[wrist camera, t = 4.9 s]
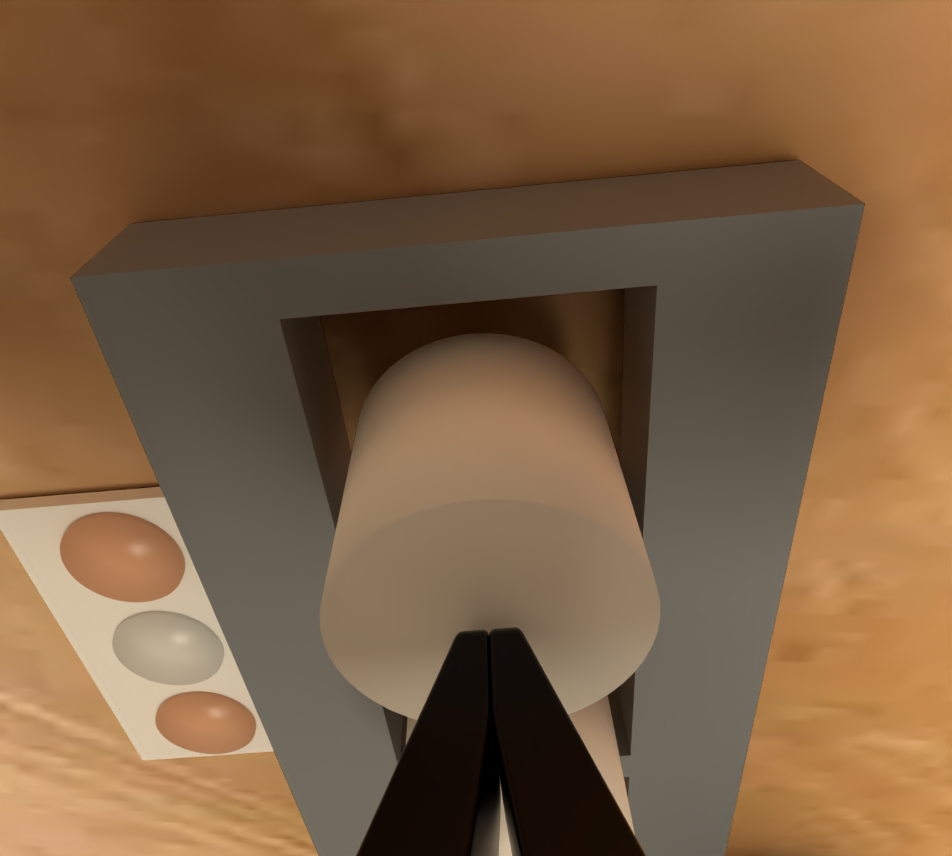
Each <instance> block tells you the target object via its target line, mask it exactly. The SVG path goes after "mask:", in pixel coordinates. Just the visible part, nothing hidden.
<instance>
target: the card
mask: <svg viewBox="0 0 952 856" xmlns="http://www.w3.org/2000/svg"><path fill="white" fill-rule="evenodd" d="M0 530H1V531H2V533H3V534H4V536H5V538H6V539H7V541H8V543H9V544H10V546H11V547H12V549H13V551H14V552H15V554H16V556H17V557H18V559H19V560H20V562H21V564H22V565H23V567H24V569H25V570H26V572H27V573H28V575H29V577H30V578H31V580H32V582H33V583H34V585H35V586H36V588H37V590H38V591H39V593H40V595H41V596H42V598H43V599H44V601H45V603H46V604H47V606H48V607H49V609H50V611H51V612H52V614H53V616H54V617H55V619H56V620H57V622H58V624H59V625H60V627H61V629H62V630H63V632H64V633H65V635H66V637H67V638H68V640H69V642H70V643H71V645H72V646H73V648H74V650H75V651H76V653H77V655H78V656H79V658H80V659H81V661H82V663H83V664H84V666H85V668H86V669H87V671H88V672H89V674H90V676H91V677H92V679H93V680H94V682H95V684H96V685H97V687H98V689H99V690H100V692H101V693H102V695H103V697H104V698H105V700H106V702H107V703H108V705H109V706H110V708H111V710H112V711H113V713H114V715H115V716H116V718H117V719H118V721H119V723H120V724H121V726H122V728H123V729H124V731H125V732H126V734H127V736H128V737H129V739H130V741H131V742H132V744H133V745H134V747H135V749H136V750H137V752H138V754H139V755H140V757H141V758H142V760H157V759H172V758H186V757H200V756H215V755H229V754H243V753H258V752H272V751H274V750H273V748H272V746H271V743H270V741H269V739H268V736H267V734H266V732H265V729H264V727H263V725H262V722H261V720H260V718H259V716H258V713H257V711H256V709H255V706H254V704H253V702H252V699H251V697H250V695H249V692H248V690H247V688H246V685H245V683H244V681H243V678H242V676H241V674H240V671H239V669H238V667H237V664H236V662H235V660H234V657H233V655H232V653H231V650H230V648H229V646H228V643H227V641H226V639H225V636H224V634H223V632H222V629H221V627H220V625H219V622H218V620H217V618H216V616H215V613H214V611H213V609H212V606H211V604H210V602H209V599H208V597H207V595H206V592H205V590H204V588H203V585H202V583H201V581H200V578H199V576H198V574H197V571H196V569H195V567H194V564H193V562H192V560H191V557H190V555H189V553H188V550H187V548H186V546H185V543H184V541H183V539H182V536H181V534H180V532H179V529H178V527H177V525H176V522H175V520H174V518H173V516H172V513H171V511H170V509H169V506H168V504H167V502H166V499H165V497H164V495H163V492H162V490H161V488H160V487H150V488H138V489H126V490H114V491H102V492H89V493H77V494H65V495H53V496H41V497H29V498H17V499H5V500H0Z"/></svg>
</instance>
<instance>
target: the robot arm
mask: <svg viewBox="0 0 952 856" xmlns="http://www.w3.org/2000/svg"><path fill="white" fill-rule="evenodd" d="M501 791H502V799H503V805H504V812H505V819H506V824H507V830H508V835H509V841H510V847H511V852H512V856H646V855H645V853H644V851H643V849H642V847H641V846H640V844H639V842H638V840H637V838H636V836H635V835H634V833H633V831H632V829H631V827H630V826H629V824H628V822H627V820H626V818H625V817H624V815H623V813H622V811H621V809H620V807H619V806H618V804H617V802H616V800H615V798H614V797H613V795H612V793H611V791H610V789H609V788H608V786H607V784H606V782H605V780H604V778H603V777H602V775H601V773H600V771H599V769H598V768H597V766H596V764H595V762H594V760H593V759H592V757H591V755H590V753H589V751H588V749H587V748H586V746H585V744H584V742H583V740H582V739H581V737H580V735H579V733H578V731H577V730H576V728H575V726H574V724H573V722H572V720H571V719H570V717H569V715H568V713H567V711H566V710H565V708H564V706H563V704H562V702H561V701H560V699H559V697H558V695H557V693H556V691H555V690H554V688H553V686H552V684H551V682H550V681H549V679H548V677H547V675H546V673H545V672H544V670H543V668H542V666H541V664H540V662H539V661H538V659H537V657H536V655H535V653H534V652H533V650H532V648H531V646H530V644H529V643H528V641H527V639H526V637H525V635H524V634H523V632H522V631H521V630H520V629H519V628H517V627H511V628H497V629H493V630H491V631H490V633H488V632H487V631H486V630H470V631H461V632H459V633H458V634H457V635H456V636H455V638H454V640H453V642H452V645H451V647H450V649H449V651H448V653H447V656H446V658H445V660H444V662H443V664H442V667H441V669H440V671H439V673H438V675H437V678H436V680H435V682H434V684H433V686H432V689H431V691H430V693H429V695H428V697H427V700H426V702H425V704H424V706H423V708H422V711H421V713H420V715H419V717H418V719H417V722H416V724H415V726H414V728H413V731H412V733H411V735H410V737H409V739H408V742H407V744H406V746H405V748H404V750H403V753H402V755H401V757H400V759H399V761H398V764H397V766H396V768H395V770H394V772H393V775H392V777H391V779H390V781H389V783H388V786H387V788H386V790H385V792H384V794H383V797H382V799H381V801H380V803H379V805H378V808H377V810H376V812H375V814H374V816H373V819H372V821H371V823H370V825H369V827H368V830H367V832H366V834H365V836H364V838H363V841H362V843H361V845H360V847H359V849H358V852H357V854H356V856H499V839H500V820H501Z"/></svg>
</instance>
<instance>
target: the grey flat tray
mask: <svg viewBox="0 0 952 856" xmlns="http://www.w3.org/2000/svg"><path fill="white" fill-rule="evenodd" d="M864 206H865V203H863V202H862V201H860V200H859V199H857V198H856V197H854V196H853V195H851V194H850V193H848V192H847V191H845V190H844V189H842V188H841V187H839V186H838V185H836V184H835V183H833V182H832V181H830V180H829V179H827V178H826V177H824V176H823V175H821V174H820V173H818V172H817V171H815V170H814V169H812V168H811V167H809V166H808V165H806V164H805V163H803V162H802V161H800V160H793V161H782V162H772V163H761V164H751V165H740V166H730V167H719V168H709V169H698V170H688V171H677V172H667V173H656V174H646V175H635V176H625V177H614V178H604V179H593V180H583V181H572V182H562V183H551V184H541V185H530V186H520V187H509V188H499V189H488V190H478V191H467V192H457V193H446V194H436V195H425V196H415V197H404V198H394V199H383V200H373V201H362V202H352V203H341V204H331V205H320V206H310V207H299V208H289V209H278V210H268V211H257V212H247V213H236V214H226V215H215V216H205V217H194V218H184V219H173V220H163V221H152V222H142V223H131V224H130V225H129V226H128V227H127V228H125V229H124V230H123V231H122V232H121V233H120V234H119V235H118V236H116V237H115V238H114V239H113V240H112V241H111V242H110V243H109V244H107V245H106V246H105V247H104V248H103V249H102V250H101V251H100V252H98V253H97V254H96V255H95V256H94V257H93V258H92V259H91V260H89V261H88V262H87V263H86V264H85V265H84V266H83V267H82V268H80V269H79V270H78V271H77V272H76V273H75V274H74V275H73V276H71V277H70V278H71V281H72V283H73V285H74V288H75V290H76V292H77V295H78V297H79V299H80V302H81V304H82V306H83V309H84V311H85V313H86V316H87V318H88V320H89V322H90V325H91V327H92V329H93V332H94V334H95V336H96V339H97V341H98V343H99V346H100V348H101V350H102V353H103V355H104V357H105V360H106V362H107V364H108V367H109V369H110V371H111V374H112V376H113V378H114V381H115V383H116V385H117V388H118V390H119V392H120V395H121V397H122V399H123V402H124V404H125V406H126V409H127V411H128V413H129V416H130V418H131V420H132V422H133V425H134V427H135V429H136V432H137V434H138V436H139V439H140V441H141V443H142V446H143V448H144V450H145V453H146V455H147V457H148V460H149V462H150V464H151V467H152V469H153V471H154V474H155V476H156V478H157V481H158V483H159V485H160V488H161V490H162V492H163V495H164V497H165V499H166V502H167V504H168V506H169V509H170V511H171V513H172V516H173V518H174V520H175V522H176V525H177V527H178V529H179V532H180V534H181V536H182V539H183V541H184V543H185V546H186V548H187V550H188V553H189V555H190V557H191V560H192V562H193V564H194V567H195V569H196V571H197V574H198V576H199V578H200V581H201V583H202V585H203V588H204V590H205V592H206V595H207V597H208V599H209V602H210V604H211V606H212V609H213V611H214V613H215V616H216V618H217V620H218V622H219V625H220V627H221V629H222V632H223V634H224V636H225V639H226V641H227V643H228V646H229V648H230V650H231V653H232V655H233V657H234V660H235V662H236V664H237V667H238V669H239V671H240V674H241V676H242V678H243V681H244V683H245V685H246V688H247V690H248V692H249V695H250V697H251V699H252V702H253V704H254V706H255V709H256V711H257V713H258V716H259V718H260V720H261V722H262V725H263V727H264V729H265V732H266V734H267V736H268V739H269V741H270V743H271V746H272V748H273V750H274V753H275V755H276V757H277V760H278V762H279V764H280V767H281V769H282V771H283V774H284V776H285V778H286V781H287V783H288V785H289V788H290V790H291V792H292V795H293V797H294V799H295V802H296V804H297V806H298V809H299V811H300V813H301V816H302V818H303V820H304V822H305V825H306V827H307V829H308V832H309V834H310V836H311V839H312V841H313V843H314V846H315V848H316V850H317V853H318V855H319V856H356V854H357V852H358V849H359V847H360V845H361V843H362V841H363V838H364V836H365V834H366V832H367V830H368V827H369V825H370V823H371V821H372V819H373V816H374V814H375V812H376V810H377V808H378V805H379V803H380V801H381V799H382V797H383V794H384V792H385V790H386V788H387V786H388V783H389V781H390V779H391V777H392V775H393V772H394V770H395V768H396V766H397V764H398V761H399V759H400V757H401V755H402V753H403V750H404V748H405V746H406V734H407V719H408V717H406V716H404V715H401V714H399V713H396V712H394V711H391V710H389V709H387V708H385V707H383V706H382V705H380V704H378V703H376V702H374V701H373V700H371V699H370V698H368V697H367V696H365V695H364V694H362V693H361V692H359V691H358V690H357V689H356V688H355V687H354V686H353V685H351V684H350V683H349V682H348V681H347V680H346V679H345V678H344V676H343V675H342V674H341V673H340V672H339V671H338V670H337V668H336V667H335V665H334V663H333V662H332V660H331V659H330V657H329V655H328V653H327V651H326V648H325V646H324V643H323V640H322V635H321V631H320V615H319V612H320V606H321V600H322V595H323V590H324V585H325V580H326V576H327V571H328V566H329V561H330V556H331V551H332V546H333V542H334V537H335V532H336V527H337V522H338V517H339V512H340V508H341V503H342V498H343V493H344V488H345V483H346V478H347V473H348V469H349V464H350V459H351V451H350V447H349V443H348V438H347V434H346V430H345V425H344V421H343V417H342V412H341V408H340V404H339V399H338V395H337V391H336V386H335V382H334V378H333V373H332V369H331V365H330V360H329V356H328V352H327V347H326V343H325V339H324V334H323V330H322V326H321V321H320V317H319V316H322V315H333V314H344V313H355V312H366V311H377V310H388V309H399V308H411V307H422V306H433V305H444V304H455V303H466V302H477V301H488V300H499V299H510V298H522V297H533V296H544V295H555V294H566V293H577V292H588V291H599V290H610V289H621V288H625V304H624V337H623V371H622V405H621V438H620V466H621V470H622V473H623V476H624V480H625V483H626V486H627V489H628V493H629V496H630V499H631V503H632V506H633V509H634V512H635V516H636V519H637V522H638V526H639V529H640V532H641V536H642V539H643V542H644V545H645V549H646V552H647V555H648V559H649V562H650V565H651V569H652V572H653V575H654V578H655V582H656V585H657V589H658V594H659V598H660V622H659V627H658V632H657V635H656V638H655V640H654V643H653V646H652V647H651V649H650V651H649V653H648V654H647V656H646V658H645V660H644V661H643V662H642V663H641V665H640V666H639V667H638V668H637V670H636V671H635V672H634V673H633V674H632V675H631V676H630V677H629V678H628V679H627V680H626V681H625V682H624V683H623V684H622V685H620V686H619V687H618V688H616V689H615V690H614V691H612V692H611V693H610V694H608V700H609V705H610V710H611V715H612V720H613V725H614V730H615V736H616V741H617V746H618V751H619V756H620V761H621V766H622V771H623V777H624V782H625V787H626V792H627V797H628V802H629V807H630V812H631V817H632V823H633V828H634V833H635V836H636V838H637V840H638V842H639V844H640V846H641V847H642V849H643V851H644V853H645V855H646V856H725V852H726V848H727V843H728V838H729V834H730V829H731V824H732V820H733V815H734V810H735V806H736V801H737V796H738V792H739V787H740V782H741V778H742V773H743V768H744V764H745V759H746V755H747V750H748V745H749V741H750V736H751V731H752V727H753V722H754V717H755V713H756V708H757V703H758V699H759V694H760V689H761V685H762V680H763V675H764V671H765V666H766V662H767V657H768V652H769V648H770V643H771V638H772V634H773V629H774V624H775V620H776V615H777V610H778V606H779V601H780V596H781V592H782V587H783V582H784V578H785V573H786V569H787V564H788V559H789V555H790V550H791V545H792V541H793V536H794V531H795V527H796V522H797V517H798V513H799V508H800V503H801V499H802V494H803V489H804V485H805V480H806V476H807V471H808V466H809V462H810V457H811V452H812V448H813V443H814V438H815V434H816V429H817V424H818V420H819V415H820V410H821V406H822V401H823V396H824V392H825V387H826V383H827V378H828V373H829V369H830V364H831V359H832V355H833V350H834V345H835V341H836V336H837V331H838V327H839V322H840V317H841V313H842V308H843V303H844V299H845V294H846V290H847V285H848V280H849V276H850V271H851V266H852V262H853V257H854V252H855V248H856V243H857V238H858V234H859V229H860V224H861V220H862V215H863V210H864Z"/></svg>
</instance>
